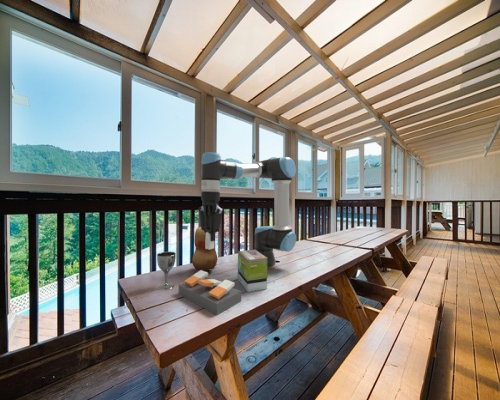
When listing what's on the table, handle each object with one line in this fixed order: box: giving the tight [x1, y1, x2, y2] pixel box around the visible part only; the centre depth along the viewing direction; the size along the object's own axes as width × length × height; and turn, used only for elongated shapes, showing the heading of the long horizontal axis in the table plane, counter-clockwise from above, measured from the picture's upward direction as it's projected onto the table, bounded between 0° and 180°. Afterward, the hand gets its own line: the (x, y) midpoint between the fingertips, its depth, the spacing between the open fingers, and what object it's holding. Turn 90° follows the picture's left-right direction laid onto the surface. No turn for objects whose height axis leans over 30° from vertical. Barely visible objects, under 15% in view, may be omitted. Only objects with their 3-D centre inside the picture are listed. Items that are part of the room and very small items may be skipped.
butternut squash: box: [191, 226, 218, 272], centre depth 115 cm, size 14×13×25 cm
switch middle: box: [197, 278, 222, 287], centre depth 86 cm, size 9×5×2 cm, turn 142°
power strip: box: [178, 276, 242, 316], centre depth 89 cm, size 22×24×4 cm
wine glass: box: [156, 251, 176, 291], centre depth 95 cm, size 8×8×15 cm
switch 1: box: [183, 270, 209, 286], centre depth 90 cm, size 9×5×2 cm, turn 141°
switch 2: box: [209, 279, 236, 299], centre depth 80 cm, size 9×5×2 cm, turn 141°
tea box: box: [237, 249, 268, 293], centre depth 100 cm, size 15×10×15 cm, turn 21°
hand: (209, 248), depth 85 cm, fingers closed
